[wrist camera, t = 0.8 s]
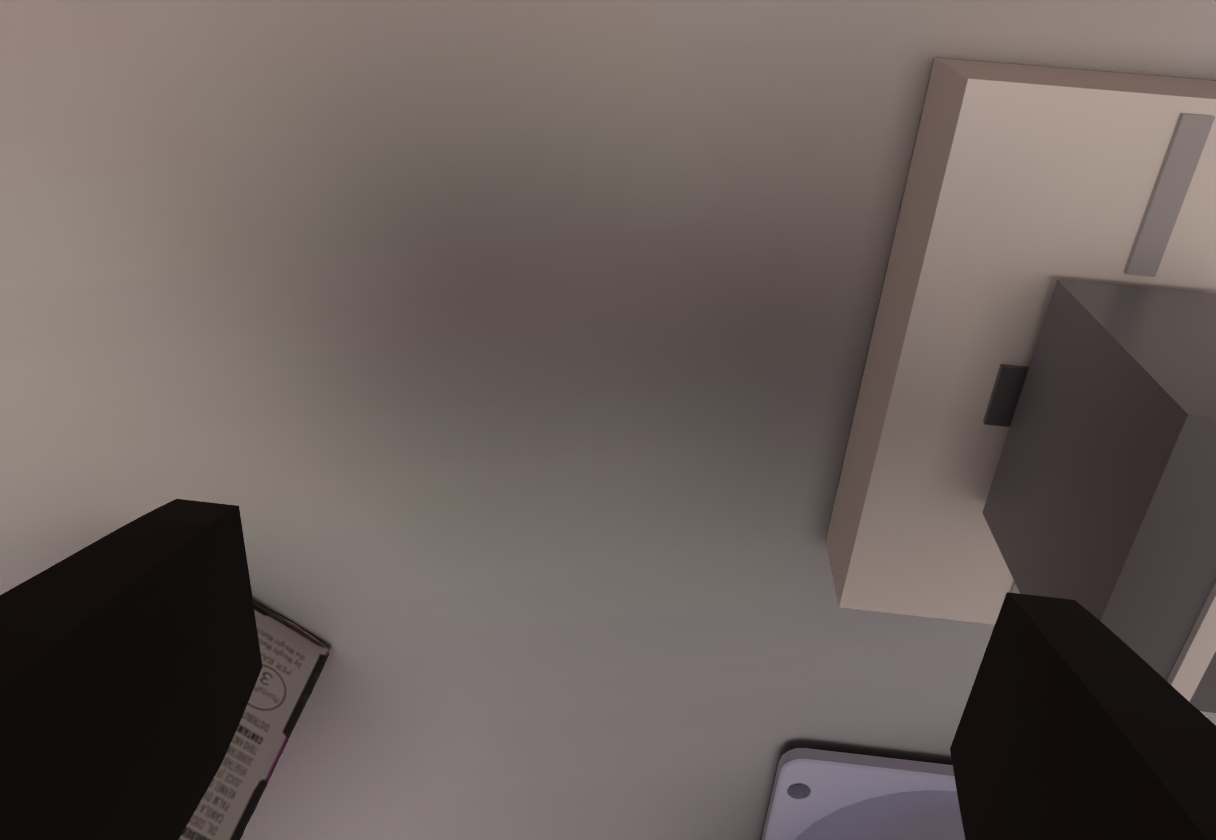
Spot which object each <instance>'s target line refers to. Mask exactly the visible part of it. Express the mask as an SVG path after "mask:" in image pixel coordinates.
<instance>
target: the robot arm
mask: <svg viewBox="0 0 1216 840" xmlns="http://www.w3.org/2000/svg"><path fill="white" fill-rule="evenodd" d="M262 667H263V666H262V659H261V653H260V646H259V639H258V633H257V626H256V619H255V612H254V606H253V599H252V592H251V585H250V579H249V572H248V565H247V558H246V552H245V545H244V538H243V531H242V525H241V518H240V511H239V506H234V505H225V504H217V503H208V502H199V501H190V500H181V499H176V500H174V501H171V502H169V503H167V504H165V505H163V506H161V507H159V508H157V509H155V510H153V511H151V512H149V513H147V514H145V515H143V516H142V517H140V518H138V519H136V520H134V521H132V522H130V523H129V524H127V525H125V526H123V527H121V528H119V529H118V530H116V531H114V532H112V533H110V534H109V535H107V536H105V537H103V538H101V539H100V540H98V541H96V542H94V543H93V544H91V545H89V546H87V547H86V548H84V549H82V550H80V551H78V552H77V553H75V554H73V555H71V556H70V557H68V558H66V559H64V560H63V561H61V562H59V563H57V564H56V565H54V566H52V567H50V568H48V569H47V570H45V571H43V572H41V573H40V574H38V575H36V576H34V577H32V578H31V579H29V580H27V581H25V582H23V583H22V584H20V585H18V586H16V587H15V588H13V589H11V590H9V591H7V592H6V593H4V594H2V595H0V840H179V838H180V836H181V834H182V833H183V831H184V829H185V827H186V826H187V824H188V822H189V821H190V819H191V817H192V815H193V814H194V812H195V810H196V808H197V807H198V805H199V803H200V801H201V800H202V798H203V796H204V794H205V793H206V791H207V789H208V787H209V786H210V784H211V782H212V780H213V778H214V777H215V775H216V773H217V771H218V769H219V768H220V766H221V764H222V762H223V760H224V757H225V755H226V753H227V751H228V748H229V746H230V744H231V741H232V739H233V737H234V735H235V732H236V730H237V728H238V726H239V723H240V721H241V719H242V716H243V714H244V711H245V709H246V706H247V704H248V701H249V699H250V697H251V694H252V692H253V689H254V687H255V684H256V682H257V679H258V677H259V674H260V672H261V669H262ZM950 751H951V757H952V764H953V765H947V764H938V763H930V762H921V761H912V760H904V759H895V758H887V757H878V756H869V755H861V754H852V753H844V752H835V751H826V750H818V749H809V748H795V749H792V750H789V751H787V752H786V753H785V754H783V755H782V756H781V758H780V760H779V764H778V768H777V772H776V777H775V781H774V786H773V790H772V794H771V799H770V803H769V808H768V812H767V816H766V821H765V825H764V830H763V834H762V838H761V840H1216V726H1215V725H1214V724H1213V723H1212V722H1211V721H1210V720H1209V719H1208V718H1206V717H1205V716H1204V715H1203V714H1202V713H1201V712H1200V711H1199V710H1198V709H1197V708H1196V707H1194V706H1193V705H1192V704H1191V703H1190V702H1189V701H1188V700H1187V699H1186V698H1185V697H1184V696H1182V695H1181V694H1180V693H1179V692H1178V691H1177V690H1176V689H1175V688H1174V687H1173V686H1172V685H1170V684H1169V683H1168V682H1167V681H1166V680H1165V679H1164V678H1163V677H1162V676H1161V675H1160V674H1158V673H1157V672H1156V671H1155V670H1154V669H1153V668H1152V667H1151V666H1150V665H1149V664H1148V663H1146V662H1145V661H1144V660H1143V659H1142V658H1141V657H1140V656H1139V655H1138V654H1137V653H1135V652H1134V651H1133V650H1132V649H1131V648H1130V647H1129V646H1128V645H1127V644H1126V643H1124V642H1123V641H1122V640H1121V639H1120V638H1119V637H1118V636H1117V635H1115V634H1114V633H1113V632H1112V631H1111V630H1110V629H1109V628H1108V627H1106V626H1105V625H1104V624H1103V623H1102V622H1101V621H1100V620H1098V619H1097V618H1096V617H1095V616H1094V615H1093V614H1091V613H1090V612H1089V611H1088V610H1086V609H1085V608H1084V607H1083V606H1082V605H1080V604H1079V603H1078V602H1077V601H1075V600H1072V599H1063V598H1054V597H1045V596H1036V595H1027V594H1018V593H1009V592H1007V593H1006V596H1005V599H1004V601H1003V604H1002V607H1001V610H1000V612H999V615H998V618H997V621H996V624H995V626H994V629H993V632H992V635H991V637H990V640H989V643H988V646H987V648H986V651H985V654H984V657H983V660H982V662H981V665H980V668H979V671H978V673H977V676H976V679H975V682H974V684H973V687H972V690H971V693H970V696H969V698H968V701H967V704H966V707H965V709H964V712H963V715H962V718H961V720H960V723H959V726H958V729H957V732H956V734H955V737H954V740H953V743H952V745H951V748H950ZM795 783H802V784H800V785H795Z"/></svg>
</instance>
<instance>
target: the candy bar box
mask: <svg viewBox="0 0 1216 840" xmlns="http://www.w3.org/2000/svg"><path fill="white" fill-rule="evenodd" d="M253 606H254V612H255V619H256V626H257V633H258V639H259V646H260V653H261V659H262V666H263V667H262V669H261V672H260V674H259V677H258V679H257V682H256V684H255V687H254V689H253V692H252V694H251V697H250V699H249V701H248V704H247V706H246V709H245V711H244V714H243V716H242V719H241V721H240V723H239V726H238V728H237V730H236V732H235V735H234V737H233V739H232V741H231V744H230V746H229V748H228V751H227V753H226V755H225V757H224V760H223V762H222V764H221V766H220V768H219V769H218V771H217V773H216V775H215V777H214V778H213V780H212V782H211V784H210V786H209V787H208V789H207V791H206V793H205V794H204V796H203V798H202V800H201V801H200V803H199V805H198V807H197V808H196V810H195V812H194V814H193V815H192V817H191V819H190V821H189V822H188V824H187V826H186V827H185V829H184V831H183V833H182V834H181V836H180V838H179V840H240V839H241V837H242V835H243V832H244V830H245V827H246V825H247V823H248V822H249V820H250V818H251V816H252V814H253V812H254V811H255V808H256V806H257V804H258V802H259V800H260V797H261V795H262V793H263V791H264V789H265V788H266V786H267V784H268V781H269V779H270V777H271V775H272V773H273V771H274V768H275V766H276V764H277V762H278V760H279V758H280V756H281V754H282V752H283V750H284V748H285V745H286V743H287V741H288V739H289V737H290V735H291V733H292V731H293V729H294V727H295V724H296V722H297V720H298V718H299V716H300V714H301V712H302V710H303V708H304V706H305V704H306V702H307V700H308V698H309V696H310V695H311V693H312V691H313V688H314V686H315V684H316V682H317V680H318V677H319V675H320V673H321V671H322V669H323V667H324V665H325V662H326V660H327V658H328V656H329V649H328V647H327V646H325V645H324V644H323V643H321V642H320V641H319V640H317V639H316V638H315V637H313V636H312V635H310V634H309V633H307V632H306V631H304V630H302V629H301V628H300V627H299V626H297V625H296V624H294V623H292V622H291V621H289V620H287V619H286V618H284V617H282V616H280V615H278V614H276V613H274V612H272V611H270V610H268V609H266V608H264V607H262V606H261V605H259V604H257V603H255V602H254V601H253Z"/></svg>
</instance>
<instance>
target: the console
mask: <svg viewBox="0 0 1216 840" xmlns="http://www.w3.org/2000/svg"><path fill="white" fill-rule="evenodd" d="M1057 279H1059V280H1070V281H1081V282H1091V283H1102V284H1113V285H1124V286H1135V287H1145V288H1156V289H1167V290H1178V291H1188V292H1199V293H1210V294H1216V81H1212V80H1200V79H1188V78H1176V77H1164V76H1152V75H1140V74H1128V73H1116V72H1104V71H1091V70H1079V69H1067V68H1055V67H1043V66H1031V65H1019V64H1007V63H995V62H983V61H971V60H958V59H946V58H934V62H933V67H932V71H931V76H930V80H929V84H928V89H927V93H926V98H925V102H924V107H923V111H922V116H921V120H920V124H919V129H918V133H917V138H916V142H915V147H914V151H913V156H912V160H911V164H910V169H909V173H908V178H907V182H906V187H905V191H904V196H903V200H902V204H901V209H900V213H899V218H898V222H897V227H896V231H895V236H894V240H893V244H892V249H891V253H890V258H889V262H888V267H887V271H886V276H885V280H884V284H883V289H882V293H881V298H880V302H879V307H878V311H877V316H876V320H875V324H874V329H873V333H872V338H871V342H870V347H869V351H868V356H867V360H866V364H865V369H864V373H863V378H862V382H861V387H860V391H859V396H858V400H857V404H856V409H855V413H854V418H853V422H852V427H851V431H850V436H849V440H848V444H847V449H846V453H845V458H844V462H843V467H842V471H841V476H840V480H839V484H838V489H837V493H836V498H835V502H834V507H833V511H832V516H831V520H830V524H829V529H828V533H827V538H826V545H827V550H828V555H829V560H830V565H831V570H832V575H833V580H834V585H835V590H836V595H837V600H838V605H839V608H847V609H856V610H865V611H874V612H884V613H893V614H902V615H911V616H920V617H929V618H938V619H948V620H957V621H966V622H975V623H984V624H993V625H995V624H996V621H997V618H998V615H999V612H1000V610H1001V607H1002V604H1003V601H1004V599H1005V596H1006V593H1007V592H1009V593H1018V594H1020V592H1019V590H1018V588H1017V586H1016V584H1015V582H1014V580H1013V577H1012V575H1011V573H1010V571H1009V569H1008V567H1007V565H1006V562H1005V560H1004V558H1003V556H1002V554H1001V552H1000V550H999V548H998V545H997V543H996V541H995V539H994V537H993V535H992V533H991V530H990V528H989V526H988V524H987V522H986V520H985V518H984V515H983V513H982V512H983V509H984V506H985V503H986V500H987V497H988V493H989V490H990V487H991V484H992V481H993V478H994V475H995V472H996V469H997V465H998V462H999V459H1000V456H1001V453H1002V450H1003V447H1004V444H1005V441H1006V437H1007V434H1008V431H1009V428H1010V425H1011V422H1012V419H1013V416H1014V412H1015V409H1016V406H1017V403H1018V400H1019V397H1020V394H1021V391H1022V388H1023V384H1024V381H1025V378H1026V375H1027V372H1028V369H1029V366H1030V363H1031V360H1032V356H1033V353H1034V350H1035V347H1036V344H1037V341H1038V338H1039V335H1040V332H1041V328H1042V325H1043V322H1044V319H1045V316H1046V313H1047V310H1048V307H1049V304H1050V300H1051V297H1052V294H1053V291H1054V288H1055V285H1056V282H1057Z"/></svg>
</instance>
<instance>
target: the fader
mask: <svg viewBox="0 0 1216 840" xmlns="http://www.w3.org/2000/svg"><path fill="white" fill-rule="evenodd" d="M982 513H983V515H984V518H985V520H986V522H987V524H988V526H989V528H990V530H991V533H992V535H993V537H994V539H995V541H996V543H997V545H998V548H999V550H1000V552H1001V554H1002V556H1003V558H1004V560H1005V562H1006V565H1007V567H1008V569H1009V571H1010V573H1011V575H1012V577H1013V580H1014V582H1015V584H1016V586H1017V588H1018V590H1019V592H1020V594H1027V595H1036V596H1045V597H1054V598H1063V599H1072V600H1075V601H1077V602H1078V603H1079V604H1080V605H1082V606H1083V607H1084V608H1085V609H1086V610H1088V611H1089V612H1090V613H1091V614H1093V615H1094V616H1095V617H1096V618H1097V619H1098V620H1100V621H1101V622H1102V623H1103V624H1104V625H1105V626H1106V627H1108V628H1109V629H1110V630H1111V631H1112V632H1113V633H1114V634H1115V635H1117V636H1118V637H1119V638H1120V639H1121V640H1122V641H1123V642H1124V643H1126V644H1127V645H1128V646H1129V647H1130V648H1131V649H1132V650H1133V651H1134V652H1135V653H1137V654H1138V655H1139V656H1140V657H1141V658H1142V659H1143V660H1144V661H1145V662H1146V663H1148V664H1149V665H1150V666H1151V667H1152V668H1153V669H1154V670H1155V671H1156V672H1157V673H1158V674H1160V675H1161V676H1162V677H1163V678H1164V679H1165V680H1166V681H1167V682H1168V683H1169V684H1170V685H1172V686H1173V687H1174V688H1175V689H1176V690H1177V691H1178V692H1179V693H1180V694H1181V695H1182V696H1184V697H1185V698H1186V699H1187V700H1188V701H1189V702H1190V703H1191V704H1192V705H1193V706H1194V707H1196V708H1197V709H1198V710H1199V711H1205V712H1214V713H1216V294H1210V293H1199V292H1188V291H1178V290H1167V289H1156V288H1145V287H1135V286H1124V285H1113V284H1102V283H1091V282H1081V281H1070V280H1059V279H1057V282H1056V285H1055V288H1054V291H1053V294H1052V297H1051V300H1050V304H1049V307H1048V310H1047V313H1046V316H1045V319H1044V322H1043V325H1042V328H1041V332H1040V335H1039V338H1038V341H1037V344H1036V347H1035V350H1034V353H1033V356H1032V360H1031V363H1030V366H1029V369H1028V372H1027V375H1026V378H1025V381H1024V384H1023V388H1022V391H1021V394H1020V397H1019V400H1018V403H1017V406H1016V409H1015V412H1014V416H1013V419H1012V422H1011V425H1010V428H1009V431H1008V434H1007V437H1006V441H1005V444H1004V447H1003V450H1002V453H1001V456H1000V459H999V462H998V465H997V469H996V472H995V475H994V478H993V481H992V484H991V487H990V490H989V493H988V497H987V500H986V503H985V506H984V509H983V512H982Z"/></svg>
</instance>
